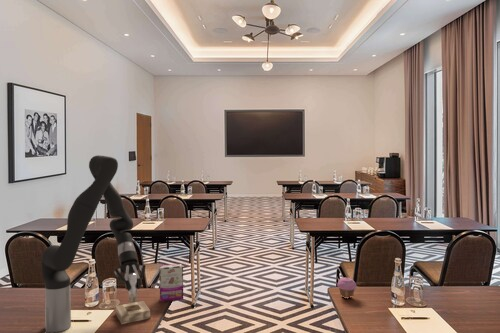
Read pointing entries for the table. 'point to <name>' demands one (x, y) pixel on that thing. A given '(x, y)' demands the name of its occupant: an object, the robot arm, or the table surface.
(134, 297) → the pin
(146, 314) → the socket block
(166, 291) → the candy bar box
